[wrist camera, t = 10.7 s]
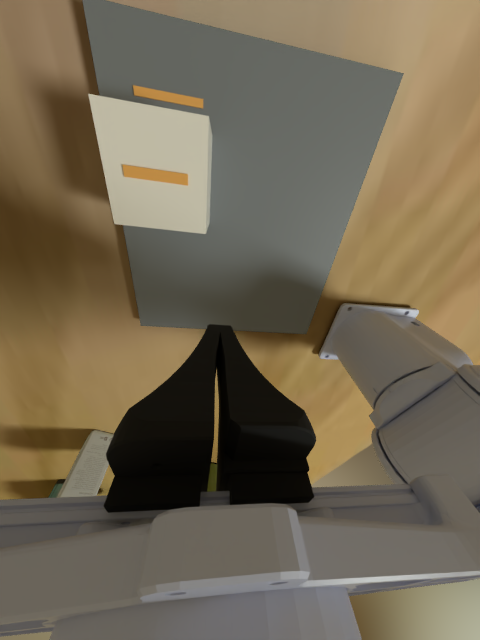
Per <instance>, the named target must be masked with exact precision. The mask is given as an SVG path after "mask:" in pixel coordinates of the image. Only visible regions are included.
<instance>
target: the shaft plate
mask: <svg viewBox="0 0 480 640" xmlns="http://www.w3.org/2000/svg"><path fill="white" fill-rule="evenodd" d="M82 1H83V6H84V12H85V17H86V23H87V29H88V34H89V40H90V45H91V51H92V56H93V62H94V67H95V73H96V79H97V84H98V90H99V95H100V96H104V97H109V98H114V99H120V100H125V101H130V102H136V103H141V104H146V105H152V106H157V107H163V108H168V109H173V110H179V111H184V112H189V113H195V114H200V115H206V116H209V120H210V126H211V131H212V163H211V193H210V223H209V226H208V229H207V232H206V234H200V233H191V232H182V231H173V230H164V229H155V228H146V227H137V226H128V225H123V229H124V234H125V240H126V246H127V251H128V257H129V262H130V268H131V273H132V279H133V285H134V290H135V296H136V301H137V307H138V312H139V318H140V323H141V326H156V327H176V328H196V329H207V326H208V325H209V324H215V325H230V326H231V327H232V328H233V330H235V331H254V332H274V333H294V334H307V331H308V328H309V326H310V323H311V320H312V317H313V315H314V312H315V309H316V307H317V304H318V301H319V299H320V296H321V293H322V291H323V288H324V285H325V283H326V280H327V277H328V275H329V272H330V269H331V267H332V264H333V261H334V259H335V256H336V253H337V251H338V248H339V245H340V243H341V240H342V237H343V234H344V232H345V229H346V226H347V224H348V221H349V218H350V216H351V213H352V210H353V208H354V205H355V202H356V200H357V197H358V194H359V192H360V189H361V186H362V184H363V181H364V178H365V176H366V173H367V170H368V168H369V165H370V162H371V160H372V157H373V154H374V151H375V149H376V146H377V143H378V141H379V138H380V135H381V133H382V130H383V127H384V125H385V122H386V119H387V117H388V114H389V111H390V109H391V106H392V103H393V101H394V98H395V95H396V93H397V90H398V87H399V85H400V82H401V79H402V76H403V74H404V73H400V72H396V71H392V70H387V69H383V68H379V67H375V66H371V65H367V64H363V63H359V62H355V61H351V60H347V59H342V58H338V57H334V56H330V55H326V54H322V53H318V52H314V51H310V50H306V49H302V48H298V47H293V46H289V45H285V44H281V43H277V42H273V41H269V40H265V39H261V38H257V37H253V36H249V35H244V34H240V33H236V32H232V31H228V30H224V29H220V28H216V27H212V26H208V25H204V24H199V23H195V22H191V21H187V20H183V19H179V18H175V17H171V16H167V15H163V14H159V13H155V12H150V11H146V10H142V9H138V8H134V7H130V6H126V5H122V4H118V3H114V2H110V1H106V0H82Z"/></svg>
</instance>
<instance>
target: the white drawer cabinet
mask: <svg viewBox="0 0 480 640" xmlns="http://www.w3.org/2000/svg"><path fill="white" fill-rule="evenodd" d="M88 95H89V100H90V105H91V110H92V115H93V120H94V125H95V130H96V135H97V140H98V145H99V150H100V155H101V160H102V165H103V170H104V175H105V180H106V185H107V190H108V195H109V200H110V205H111V210H112V215H113V220H114V224H119V225H128V226H137V227H146V228H155V229H164V230H173V231H182V232H191V233H200V234H206V232H207V229H208V226H209V223H210V193H211V163H212V131H211V126H210V120H209V116H206V115H200V114H195V113H189V112H184V111H179V110H173V109H168V108H163V107H157V106H152V105H146V104H141V103H136V102H130V101H125V100H120V99H114V98H109V97H104V96H98V95H93V94H88Z"/></svg>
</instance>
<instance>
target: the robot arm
mask: <svg viewBox="0 0 480 640" xmlns="http://www.w3.org/2000/svg"><path fill="white" fill-rule="evenodd" d="M349 307H350V309H348V308H349ZM418 313H419V311H418V310H417V309H415V308H404V307H390V306H376V305H363V304H349V303H344V304H342V305H341V306H340V308H339V310H338V312H337V315H336V317H335V319H334V321H333V324H332V326H331V328H330V330H329V333H328V335H327V337H326V339H325V341H324V344H323V346H322V348H321V350H320V353H319V357H320V358H321V359H339V360H340V361H341V363H342V364H343V366H344V367H345V369H346V370H347V372H348V373H349V375H350V376H351V378H352V379H353V381H354V382H355V383H356V385H357V386H358V388H359V389H360V391H361V392H362V394H363V395H364V397H365V398H366V400H367V401H368V403H369V404H370V405H371V407H372V408H373V410H374V411H373V412H372V413H371V414H370V415H369V417H370V419H371V420H372V422H373V423H374V425H375V426H376V427H375V428H374V429H373V431H372V435H371V437H372V443H373V446H374V450H375V453H376V456H377V458H378V460H379V462H380V464H381V466H382V467H383V469H384V471H385V472H386V474H387V475H388V476H389V478H390V479H391V480H392V481H393V483H394V484H391V485H367V486H341V487H317V488H312V487H311V483H310V480H309V477H308V473H307V472H308V471H309V466H308V463H307V459H306V457H307V456H308V454H309V453H310V451H311V450H312V448H313V447H314V445H315V442H316V436H315V433H314V431H313V428H312V426H311V423H310V421H309V419H308V417H307V415H306V413H305V411H304V410H303V409H301V408H300V407H299V406H297V405H296V404H295V403H293V402H292V401H291V400H289V399H288V398H287V397H285V396H284V395H283V394H282V393H281V392H279V391H278V390H277V389H276V388H275V387H274V386H273V385H272V384H271V383H270V382H269V381H268V380H267V379H266V378H265V377H264V376H263V375H262V374H261V373H260V372H259V371H258V369H257V368H256V367H255V366H254V364H253V363H252V362H251V360H250V359H249V358H248V356H247V355H246V353H245V352H244V350H243V348H242V347H241V345H240V343H239V341H238V339H237V337H236V335H235V333H234V331H233V328H232V327H231V326H230V325H215V324H209V325H208V326H207V329H206V331H205V333H204V335H203V337H202V339H201V340H200V342H199V344H198V345H197V347H196V348H195V350H194V351H193V352H192V354H191V355H190V356H189V358H188V359H187V360H186V361H185V362H184V363H183V365H182V366H181V367H180V368H179V369H178V370H177V371H176V372H175V373H174V374H173V375H172V376H171V377H170V378H169V379H168V380H166V381H165V382H164V383H163V384H162V385H160V386H159V387H158V388H157V389H156V390H154V391H153V392H152V393H151V394H149V395H148V396H147V397H145V398H144V399H142V400H141V401H139V402H138V403H137V404H135V405H134V406H132V407H131V408H129V410H128V411H127V413H126V414H125V416H124V417H123V419H122V420H121V422H120V424H119V426H118V427H117V429H116V431H115V433H114V435H113V438H112V440H111V443H110V445H109V447H108V450H107V452H106V458H107V461H108V463H109V465H110V467H111V469H112V471H113V473H114V475H115V477H114V479H113V482H112V485H111V487H110V490H109V493H108V495H107V496H85V497H60V498H34V499H9V500H0V637H1V636H11V635H21V634H30V633H39V632H50V631H52V634H51V636H50V639H49V640H362V639H361V635H360V632H359V629H358V625H357V622H356V619H355V616H354V612H353V609H352V606H351V603H350V599H349V596H354V595H361V594H369V593H376V592H384V591H391V590H398V589H407V588H414V587H422V586H430V585H437V584H445V583H454V582H462V581H468V580H474V579H479V578H480V365H473V363H472V361H471V360H470V358H469V357H468V356H467V354H466V353H465V352H464V351H462V350H461V349H460V348H458V347H457V346H455V345H454V344H452V343H451V342H449V341H448V340H446V339H445V338H443V337H442V336H441V335H439V334H438V333H436V332H435V331H433V330H432V329H430V328H429V327H427V326H426V325H424V324H423V323H421V322H420V321H418V320H417V319H415V317H416V316H417V315H418ZM326 355H327V356H326ZM216 369H217V377H218V393H219V428H218V456H217V480H216V491H213V492H207V489H208V480H209V474H210V466H211V458H212V449H213V441H214V403H215V376H216Z"/></svg>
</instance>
